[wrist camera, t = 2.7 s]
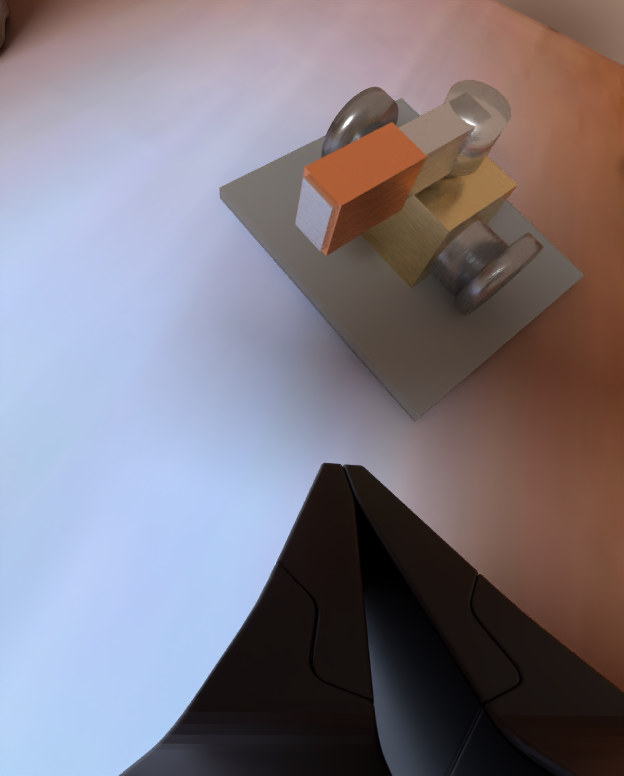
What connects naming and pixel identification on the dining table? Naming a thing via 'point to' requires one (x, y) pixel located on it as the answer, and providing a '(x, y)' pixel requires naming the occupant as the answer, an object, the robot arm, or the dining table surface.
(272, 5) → the dining table surface
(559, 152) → the dining table surface
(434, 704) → the robot arm
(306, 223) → the valve lever
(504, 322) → the rubber mat
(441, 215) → the valve body
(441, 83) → the dining table surface
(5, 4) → the plant pot
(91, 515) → the dining table surface
